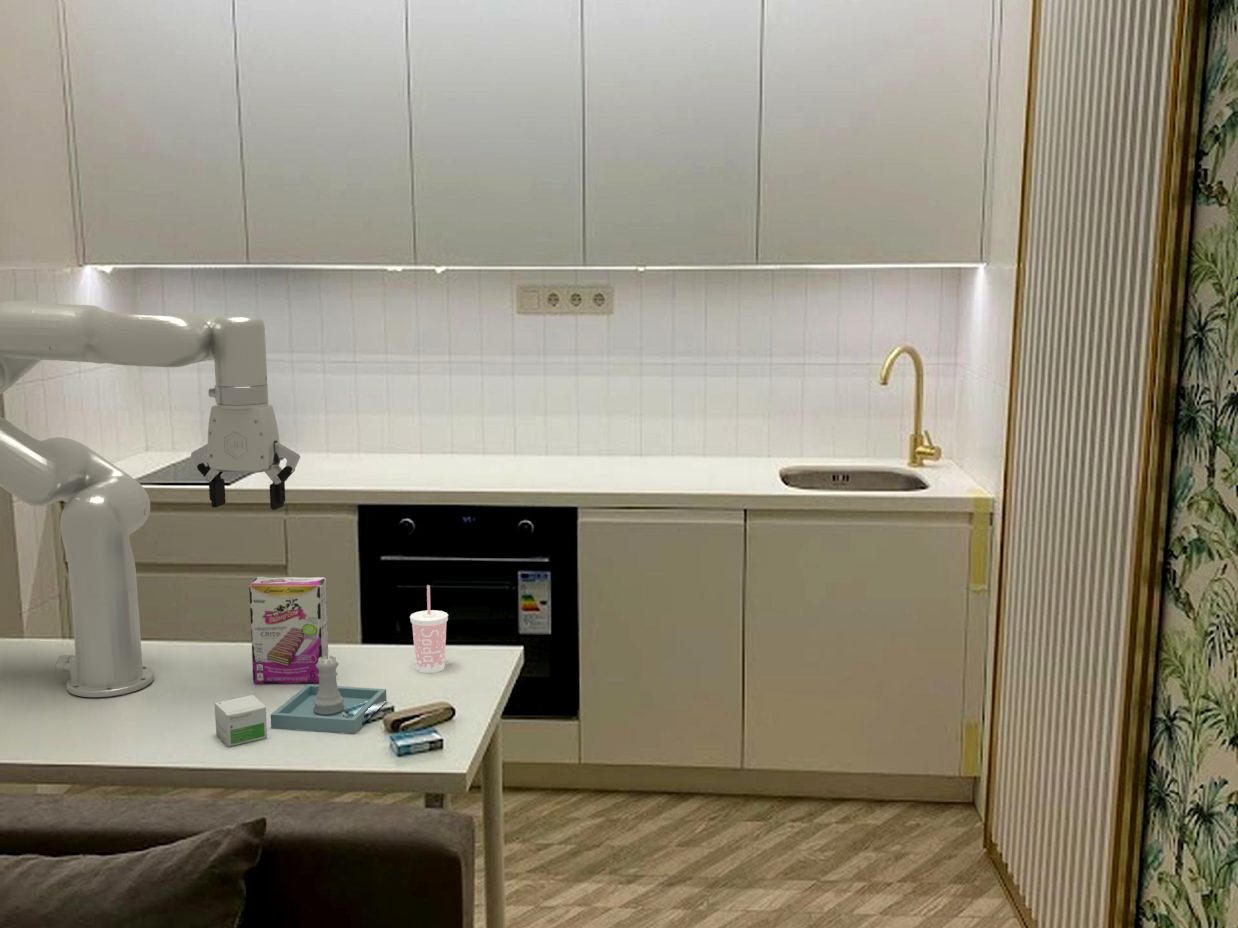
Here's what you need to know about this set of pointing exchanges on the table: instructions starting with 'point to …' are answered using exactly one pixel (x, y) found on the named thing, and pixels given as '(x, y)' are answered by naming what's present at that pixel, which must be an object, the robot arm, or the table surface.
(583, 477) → the table surface
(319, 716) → the tray
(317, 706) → the rook chess piece
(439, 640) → the beverage cup
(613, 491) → the table surface
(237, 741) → the small box
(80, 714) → the table surface
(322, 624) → the candy bar box
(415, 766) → the table surface
